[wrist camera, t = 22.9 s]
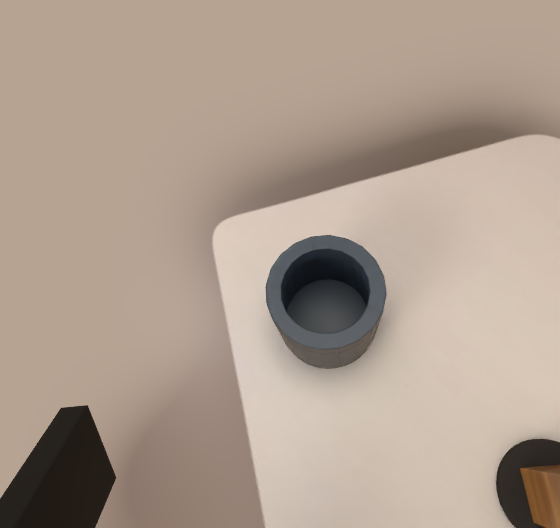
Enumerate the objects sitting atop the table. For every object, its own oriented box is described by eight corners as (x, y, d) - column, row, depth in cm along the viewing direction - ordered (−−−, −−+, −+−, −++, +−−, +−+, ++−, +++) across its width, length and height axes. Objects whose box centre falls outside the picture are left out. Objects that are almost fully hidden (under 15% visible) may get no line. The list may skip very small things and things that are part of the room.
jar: (267, 296, 46) (250, 260, 37) (351, 262, 46) (355, 218, 37) (301, 383, 43) (291, 368, 33) (391, 346, 43) (407, 321, 34)
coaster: (477, 460, 39) (479, 460, 38) (563, 424, 39) (567, 424, 38) (530, 564, 36) (533, 566, 35) (623, 524, 36) (627, 526, 35)
